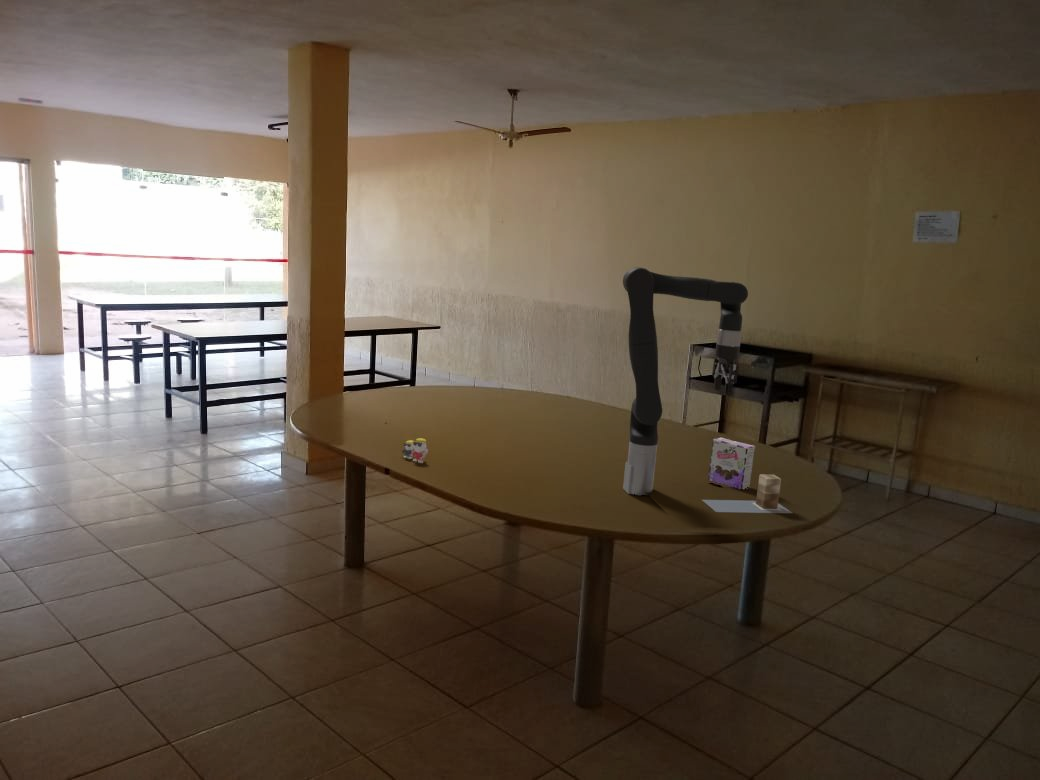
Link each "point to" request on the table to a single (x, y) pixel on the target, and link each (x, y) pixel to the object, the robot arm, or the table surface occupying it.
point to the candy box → (731, 463)
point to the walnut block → (767, 500)
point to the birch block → (769, 484)
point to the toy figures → (415, 449)
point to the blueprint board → (742, 506)
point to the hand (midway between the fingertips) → (722, 392)
